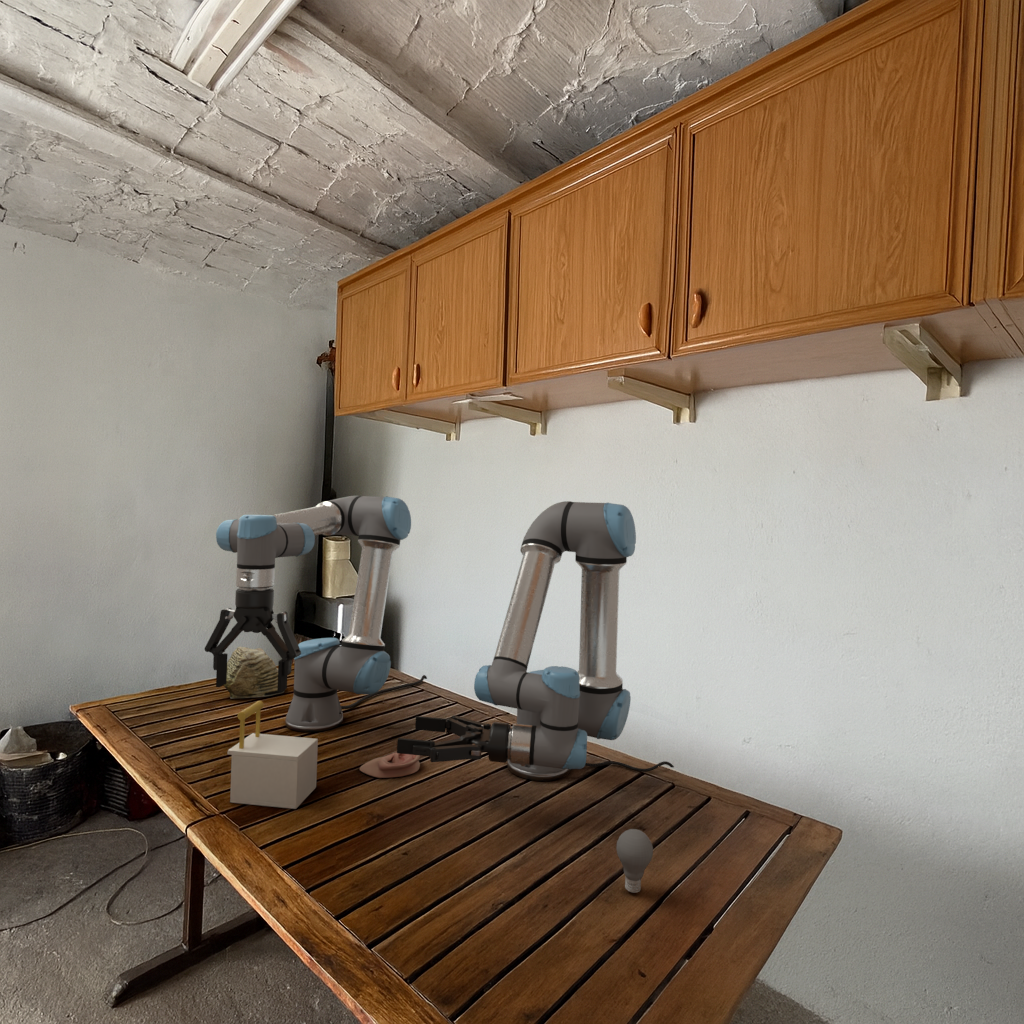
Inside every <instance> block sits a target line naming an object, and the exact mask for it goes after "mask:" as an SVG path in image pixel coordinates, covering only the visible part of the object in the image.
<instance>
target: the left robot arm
mask: <svg viewBox="0 0 1024 1024" xmlns="http://www.w3.org/2000/svg"><path fill="white" fill-rule="evenodd" d="M411 515H412V514H411V512H410V509H409V507H408V505H407V503H406V502H405V501H404V500H403V499H401V498H400V497H399V498H398V497H393V496H387V495H386V496H375V495H373V496H371V495H350V496H344V497H339V498H334V499H330V500H324V501H321V502H319V503H317V505H315V506H313V507H308V508H303V509H302V508H301V509H296V510H292V511H286V512H281V513H275V514H243V515H241V516H240V517H239V519H238V518H234V519H225V520H224V521H222V522H221V523H220V524H219V525H218V527H217V528H216V532H215V536H216V537H215V541H216V543H217V546H218V548H220V549H221V550H223V551H225V552H231V553H233V554H236V574H235V575H236V576H235V586H236V590H235V601H234V604H235V609H232V607H228V608H224V609H221V610H220V613H219V620H218V622H217V624H216V626H215V627H214V629H213V631H212V632H211V635H210V637H209V639H208V641H207V643H206V645H205V646H204V651H205V652H206V653H210V654H212V655H213V659H212V660H213V662H212V663H213V664H212V668H213V671H216V674H215V676H216V678H215V687H216V688H221V687H224V685H225V684H226V682H227V662H228V653H226V650H227V649H228V648H229V647H230V645H231V644H232V643H234V641H235V640H236V639H237V638H238V636H239V635H241V633H242V632H244V633H250V632H251V633H253V634H260V633H261V634H262V636H264V637H266V639H267V640H268V642H269V643H270V644H271V646H272V647H273V648H274V650H275V651H276V652H277V654H278V655H279V656H280V658H281V659H279V660H278V661H277V662H278V666H277V668H278V689H277V692H282V691H284V690H285V689H286V690H287V689H288V676H289V675H291V674H292V668H293V659H294V670H293V671H294V672H293V695H292V696H293V697H292V699H291V702H290V704H289V705H288V711H287V713H286V715H285V726H286V728H287V729H289V730H291V731H294V732H295V731H296V732H301V733H316V732H325V731H329V730H332V729H335V728H337V727H339V726H340V725H342V723H343V722H344V714H343V710H349V709H352V708H354V707H356V706H357V705H359V704H360V703H362V702H364V701H366V700H368V699H370V698H373V697H374V696H376V695H380V694H383V693H388V692H392V691H395V690H401V689H404V688H409V687H413V686H416V685H419V684H421V683H422V682H423V681H424V680H427V679H428V677H427V675H426V674H422V676H421V678H420V679H419V680H417V681H414V682H410V683H406V684H401V685H396V686H392V687H388V688H387V687H386V688H384V689H382V688H383V686H384V685H385V684H386V682H387V680H388V678H389V676H390V672H391V665H392V661H391V656H390V655H389V653H387V652H386V651H385V647H386V643H384V641H383V640H382V638H381V637H382V630H383V629H382V628H383V623H384V616H385V609H386V603H387V595H388V589H389V582H390V576H391V571H392V570H391V569H392V563H393V558H394V557H393V556H394V552H395V551H396V550H397V549H399V548H400V546H401V541H403V540H405V539H407V538H408V536H409V534H410V533H411V529H412V516H411ZM319 535H323V536H334V535H345V536H352V537H353V536H355V537H358V538H357V543H358V544H359V545H360V547H361V553H360V559H359V566H358V572H357V579H356V586H355V591H354V596H353V597H354V598H353V603H352V604H353V605H352V609H351V610H352V611H351V617H350V622H349V623H350V624H349V629H348V633H347V635H346V636H344V638H342V639H341V642H340V640H339V638H337V637H321V638H313V639H307V640H304V641H302V642H299V643H298V641H297V639H296V637H295V634H294V632H293V630H292V627H291V625H290V623H289V615H288V612H287V611H281V612H274V604H275V603H274V602H275V599H274V598H275V590H274V588H273V587H274V586H275V571H276V570H275V569H276V559H278V558H288V557H296V558H297V557H300V556H302V555H303V556H304V555H307V554H309V553H310V552H311V551H312V549H313V548H314V546H315V541H316V539H315V538H316V537H315V536H319ZM237 587H238V588H237ZM233 618H234V620H235V621H236V623H235V625H233V627H232V628H231V630H230V631H229V632H228V633H227V634H226V635H225V637H224V638H223V639H222V637H223V635H224V634H225V632H226V630H227V628H228V626H229V624H230V623H231V620H233ZM273 620H274V622H275V623H276V624H277V627H278V630H279V633H280V634H281V636H282V637H281V636H280V634H279V633H278V632H277V630H276V627H275V626H274V624H273V623H272V622H273ZM286 690H285V691H286ZM285 691H284V692H285ZM338 691H341V692H347V693H353V694H356V695H366V696H363V697H361V698H360V699H358V700H357V701H355V702H353V703H351V704H347V705H341V702H340V699H339V695H338Z"/></svg>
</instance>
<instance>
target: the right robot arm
mask: <svg viewBox="0 0 1024 1024" xmlns="http://www.w3.org/2000/svg"><path fill="white" fill-rule="evenodd" d="M636 543H637V533H636V525H635V520H634V517H633V515H632V512H631V510H630V509H629V507H627V506H626V505H624V504H619V503H612V502H582V501H570V500H568V501H567V500H565V501H560V502H556V503H554V504H552V505H550V506H548V507H547V508H545V510H543V511H541V512H540V513H539V515H538V516H537V517H536V518H535V519H534V520H533V521H532V523H531V524H530V525H529V528H527V530H526V532H525V535H524V536H523V540H522V543H521V546H520V553H521V555H522V559H521V562H520V565H519V568H518V573H517V576H516V579H515V583H514V586H513V588H512V593H511V597H510V601H509V604H508V608H507V611H506V613H505V618H504V620H503V625H502V629H501V632H500V636H499V639H498V642H497V646H496V650H495V653H494V656H493V660H492V663H491V664H488V665H482V666H480V667H479V669H478V671H477V672H476V674H475V678H474V683H473V689H474V690H473V691H474V693H475V696H476V698H477V699H478V701H481V702H484V703H489V704H491V705H494V706H500V707H506V708H511V709H516V723H513V724H512V726H511V724H510V723H508V722H497V721H494V722H493V723H487V722H480V721H476V720H472V719H470V718H466V717H463V716H458V715H454V714H453V715H451V717H447V718H443V717H433V716H432V717H431V716H421V715H420V716H419V715H416V716H415V724H414V725H415V727H414V730H415V731H423V732H425V731H427V732H435V733H445V735H448V734H453V735H456V736H458V737H459V738H455V739H449V740H443V741H438V742H435V741H434V740H433V739H430V740H425V739H424V740H423V739H415V738H403V737H398V738H397V740H396V741H397V742H396V752H397V753H400V754H410V755H420V757H428V758H429V759H430V761H429V762H431V763H442V762H443V763H444V762H453V761H465V760H476V761H477V760H478V761H479V760H481V759H482V753H487V754H488V755H487V756H488V757H487V758H488V761H490V762H491V763H504V764H505V763H507V769H508V770H509V771H510V772H511V773H512V774H513V775H515V776H517V777H520V778H521V779H526V780H529V781H537V782H549V781H555V780H559V779H563V778H565V777H566V776H568V775H569V774H570V772H571V770H581V769H584V768H585V767H591V768H595V767H596V768H598V767H603V766H604V767H605V766H609V765H610V766H611V765H613V766H620V767H622V768H623V767H624V768H626V769H628V770H632V771H635V772H641V773H648V772H652V771H655V770H656V769H658V768H660V767H661V766H665V765H666V766H669V767H670V768H674V767H675V766H674V764H673V763H671V762H669V761H667V760H665V761H660V762H659V763H657V764H655V765H653V766H650V767H647V768H641V767H640V768H639V767H635V766H633V765H629V764H626V763H625V762H620V761H611V760H610V761H603V762H602V761H601V762H597V763H592V762H591V763H589V762H587V755H588V754H587V753H588V752H587V750H588V737H590V738H595V739H596V740H608V741H615V740H618V738H619V737H620V736H621V734H622V733H623V731H624V728H625V726H626V724H627V721H628V716H629V712H630V708H631V707H630V706H631V698H632V697H631V692H630V691H629V690H627V689H626V688H624V687H623V686H624V685H623V684H624V682H623V678H622V677H621V676H620V675H619V674H618V673H617V661H618V660H617V659H618V629H619V627H618V626H619V602H620V601H619V600H620V599H619V598H620V597H619V596H620V571H621V569H622V568H624V566H626V565H627V561H628V558H630V557H632V556H633V555H634V553H635V550H636ZM564 552H569V553H575V555H574V556H575V559H574V560H575V563H576V564H577V565H578V566H579V567H580V569H581V581H580V582H581V584H580V622H579V650H578V651H579V653H578V654H579V656H578V657H579V659H578V670H576V669H574V668H573V667H569V666H558V665H551V666H547V667H545V668H544V669H538V670H532V671H529V672H527V671H528V667H529V663H530V659H531V656H532V651H533V648H534V644H535V640H536V636H537V632H538V630H539V627H540V626H539V625H540V621H541V618H542V615H543V610H544V607H545V603H546V599H547V595H548V591H549V589H550V585H551V581H552V576H553V573H554V569H555V565H557V564H559V563H560V562H561V560H562V556H563V553H564ZM658 766H659V767H658Z"/></svg>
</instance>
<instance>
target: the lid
mask: <svg viewBox="0 0 1024 1024" xmlns="http://www.w3.org/2000/svg"><path fill="white" fill-rule="evenodd" d="M264 705H265V704H264V702H263V701H262V700H257V701H255V702H253V703H252V704H250V705H249V706H247V707H246V708H244V709H243V710H241V711H239V712H238V713H237V716H236V717H237V718H238V720H239V739H238V740H239V741H238V743H236V744H235V745H233V746H232V747H230V748H228V750H227V756H228V755H230V756H232V755H239V756H250V757H261V758H272V759H283V760H294V761H298V760H299V759H300V758H301V757H302V756H304V755H305V754H306V753H307V752H308V751H309V750H310V749H311V748H312V747H313V746H315V745H316V744H317V743H319V739H318V738H314V737H313V738H312V737H304V736H303V737H301V736H290V735H279V734H268V733H261V714H262V713H261V710H262V709H263V708H264ZM254 714H255V732H252V733H250V734H249V735H247V736H246V737H245V731H246V730H245V729H246V728H245V727H246V726H245V725H246V719H247V718H249V717H251V716H252V715H254Z"/></svg>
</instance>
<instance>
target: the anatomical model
mask: <svg viewBox="0 0 1024 1024" xmlns="http://www.w3.org/2000/svg"><path fill="white" fill-rule="evenodd" d="M420 758H421V755H410V754H400V753H397V751H395V752H392V753H390V754H387V755H384V756H380V757H377V758H373V759H371V760H368V761H367V762H365V763H364V764H362V765H361V766H360V767H359V771H360V772H362V773H363V774H366V775H368V776H370V777H374V778H380V779H382V778H383V779H385V778H386V779H387V778H398V777H399V778H400V777H404V776H409V775H412V774H414V773H417V772H418V771H419V769H420V768H421V763H420V761H419V760H420Z"/></svg>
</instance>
